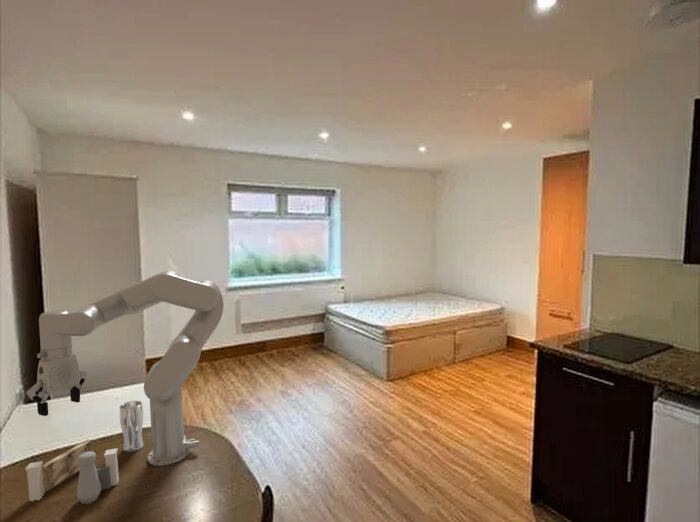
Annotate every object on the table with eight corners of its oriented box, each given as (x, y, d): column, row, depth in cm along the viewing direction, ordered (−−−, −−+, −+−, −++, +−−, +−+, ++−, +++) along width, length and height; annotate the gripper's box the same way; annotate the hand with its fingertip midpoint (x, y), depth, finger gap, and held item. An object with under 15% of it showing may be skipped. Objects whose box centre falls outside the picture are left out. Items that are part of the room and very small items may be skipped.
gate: (47, 491, 115) (44, 467, 115) (42, 490, 116) (40, 466, 115) (93, 461, 130) (92, 440, 129) (89, 461, 130) (87, 439, 130)
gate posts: (119, 479, 122) (117, 448, 121) (116, 487, 118) (114, 455, 117) (32, 495, 115) (29, 463, 114) (26, 505, 111) (23, 471, 110)
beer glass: (129, 455, 135) (126, 411, 133) (117, 449, 138) (114, 406, 137) (149, 445, 141) (146, 403, 139) (137, 440, 144) (134, 398, 143)
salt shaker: (71, 504, 111) (68, 458, 110) (89, 491, 116) (85, 447, 115) (90, 507, 110) (87, 460, 108) (107, 493, 115) (103, 449, 114)
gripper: (35, 362, 112) (38, 422, 114) (92, 345, 129) (95, 398, 130) (16, 359, 115) (20, 418, 116) (75, 343, 131) (78, 395, 133)
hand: (60, 408), depth 123 cm, fingers open, 9 cm apart
